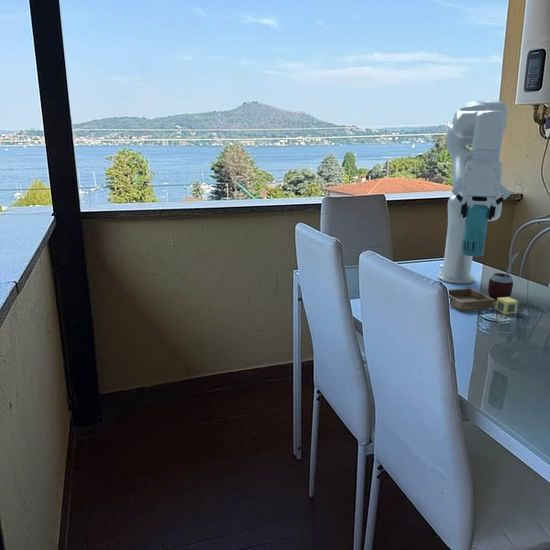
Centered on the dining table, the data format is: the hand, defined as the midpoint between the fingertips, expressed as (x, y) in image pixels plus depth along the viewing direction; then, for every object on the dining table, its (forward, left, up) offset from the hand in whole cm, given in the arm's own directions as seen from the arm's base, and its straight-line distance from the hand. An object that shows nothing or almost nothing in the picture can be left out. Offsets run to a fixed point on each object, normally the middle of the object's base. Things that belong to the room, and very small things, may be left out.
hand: (476, 217), depth 137 cm
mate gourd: (-2, +14, -28) cm, 31 cm away
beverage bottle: (0, 0, -13) cm, 13 cm away
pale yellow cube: (+9, +8, -27) cm, 30 cm away
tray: (0, 0, -27) cm, 27 cm away
